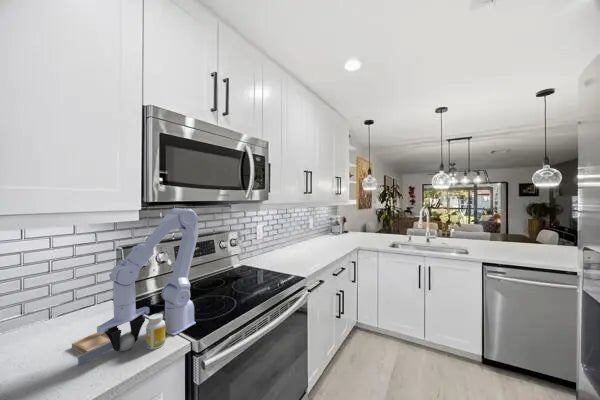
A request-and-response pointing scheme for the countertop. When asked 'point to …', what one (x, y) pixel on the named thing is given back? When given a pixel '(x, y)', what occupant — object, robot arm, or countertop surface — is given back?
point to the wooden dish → (90, 342)
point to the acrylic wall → (95, 352)
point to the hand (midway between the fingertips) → (125, 345)
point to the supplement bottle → (155, 331)
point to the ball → (126, 341)
